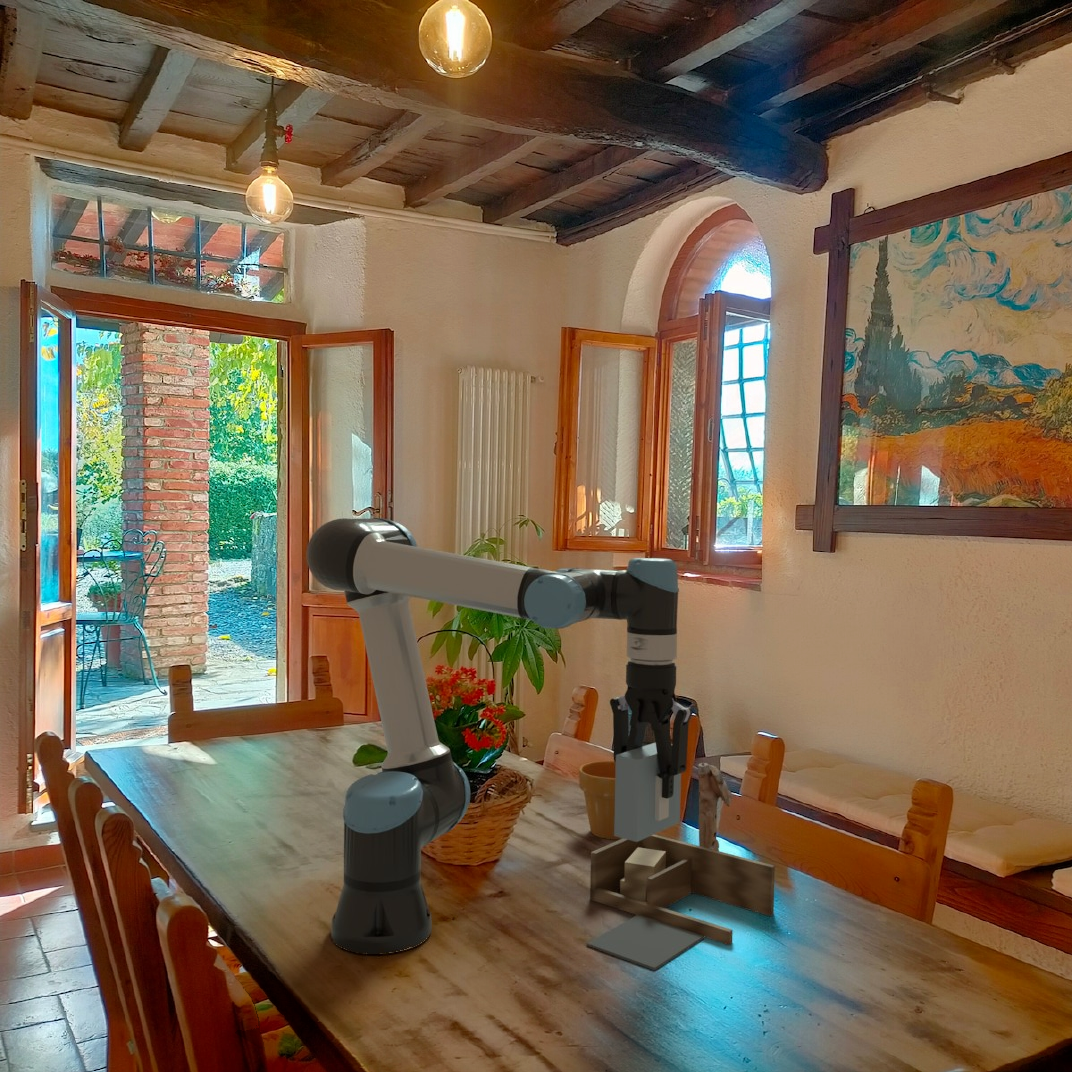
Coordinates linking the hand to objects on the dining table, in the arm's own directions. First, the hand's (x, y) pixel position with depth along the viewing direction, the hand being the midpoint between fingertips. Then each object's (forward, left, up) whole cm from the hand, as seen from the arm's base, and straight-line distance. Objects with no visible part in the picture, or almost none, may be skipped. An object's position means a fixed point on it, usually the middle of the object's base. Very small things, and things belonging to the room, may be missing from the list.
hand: (648, 814), depth 146 cm
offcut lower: (-10, +15, -20) cm, 27 cm away
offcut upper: (-10, +15, -16) cm, 24 cm away
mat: (0, 0, -19) cm, 19 cm away
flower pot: (-33, +38, -20) cm, 54 cm away
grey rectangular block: (0, 0, -2) cm, 2 cm away
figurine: (-6, +33, -20) cm, 39 cm away
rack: (-3, +15, -19) cm, 25 cm away
